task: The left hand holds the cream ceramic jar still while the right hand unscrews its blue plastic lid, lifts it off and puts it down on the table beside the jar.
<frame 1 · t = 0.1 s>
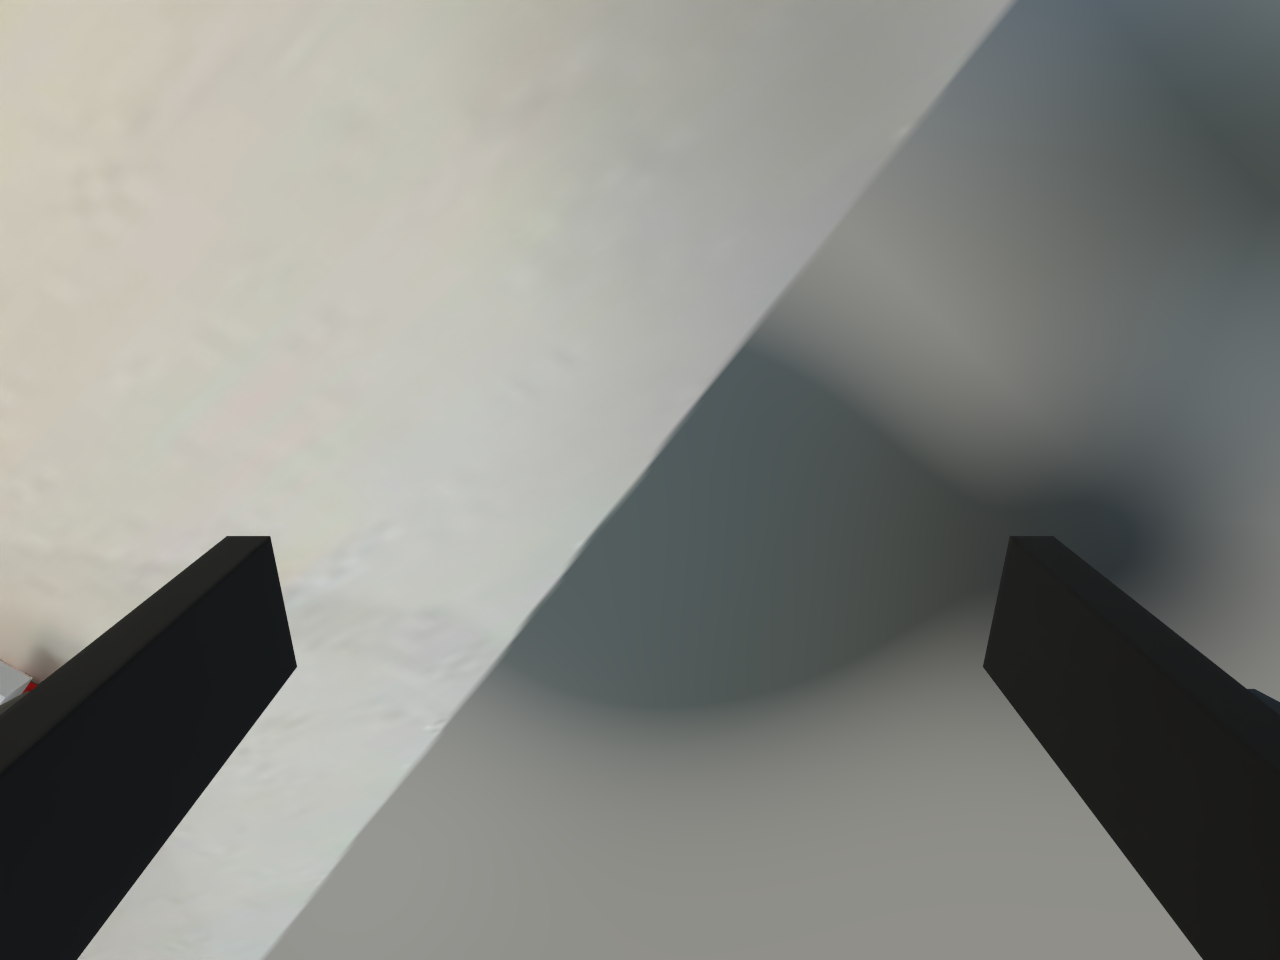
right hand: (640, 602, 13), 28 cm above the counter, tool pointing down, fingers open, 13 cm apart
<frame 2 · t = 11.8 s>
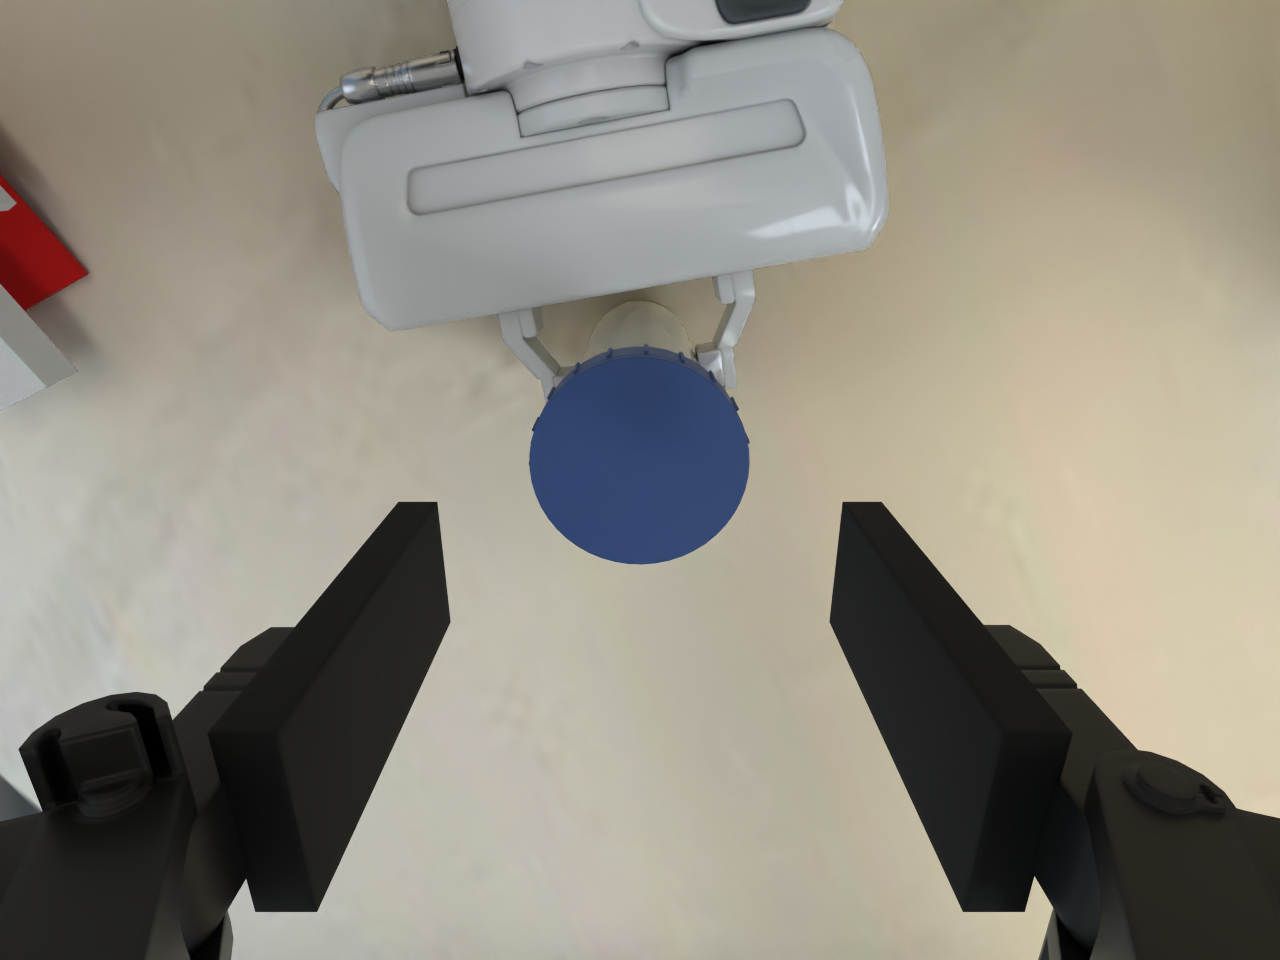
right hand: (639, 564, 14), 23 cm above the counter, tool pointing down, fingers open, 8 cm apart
left hand: (644, 400, 30), fingers closed on jar, 5 cm apart
jar: (639, 351, 36), on the counter, touching left hand
lid: (639, 462, 20), point 17 cm above the counter, screwed on, not yet turned
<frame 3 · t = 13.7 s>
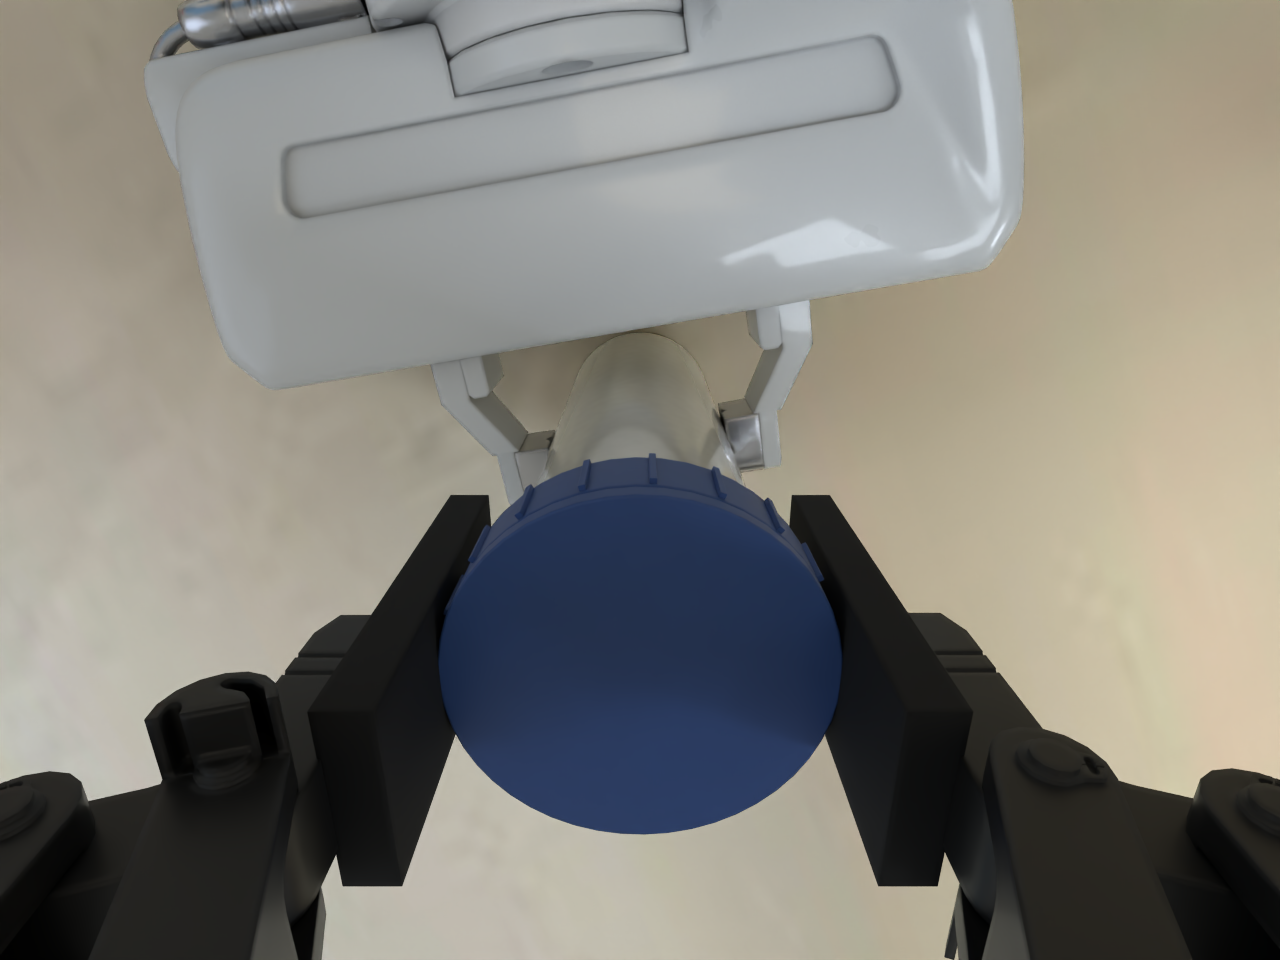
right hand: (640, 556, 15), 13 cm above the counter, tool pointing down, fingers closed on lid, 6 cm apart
left hand: (646, 481, 21), fingers closed on jar, 5 cm apart
jar: (640, 399, 27), on the counter, touching left hand
lid: (640, 668, 11), point 17 cm above the counter, screwed on, not yet turned, touching right hand
when the right hand's fingers open (13 cm above the counter, at t = 15.5 s): lid stays where it is, point 17 cm above the counter.
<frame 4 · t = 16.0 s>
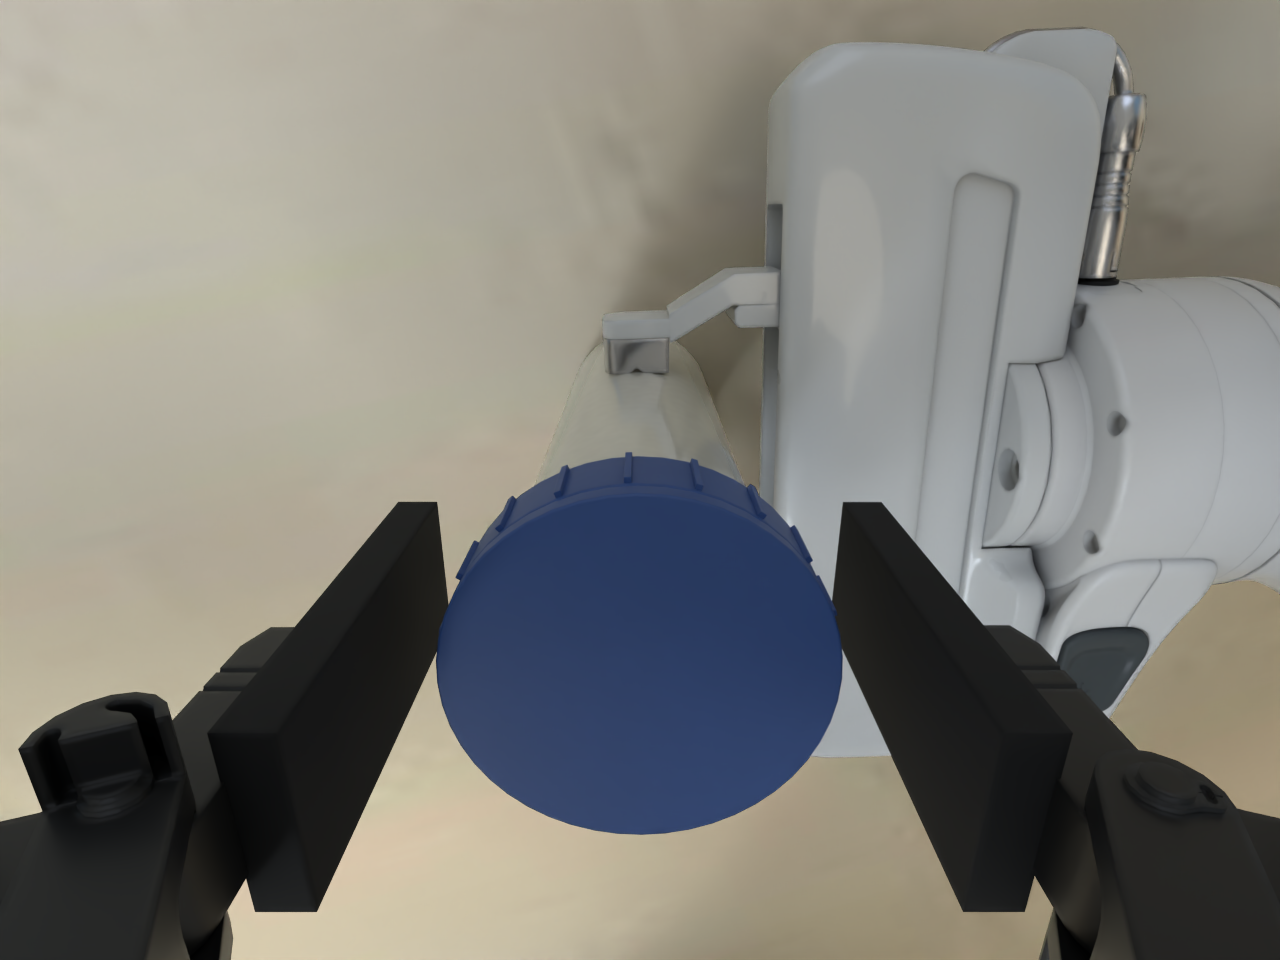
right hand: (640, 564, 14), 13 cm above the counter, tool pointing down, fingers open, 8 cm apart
left hand: (609, 453, 21), fingers closed on jar, 5 cm apart
jar: (639, 397, 27), on the counter, touching left hand
lid: (639, 668, 11), point 17 cm above the counter, turned 142° so far, risen 0.2 cm, still on its thread
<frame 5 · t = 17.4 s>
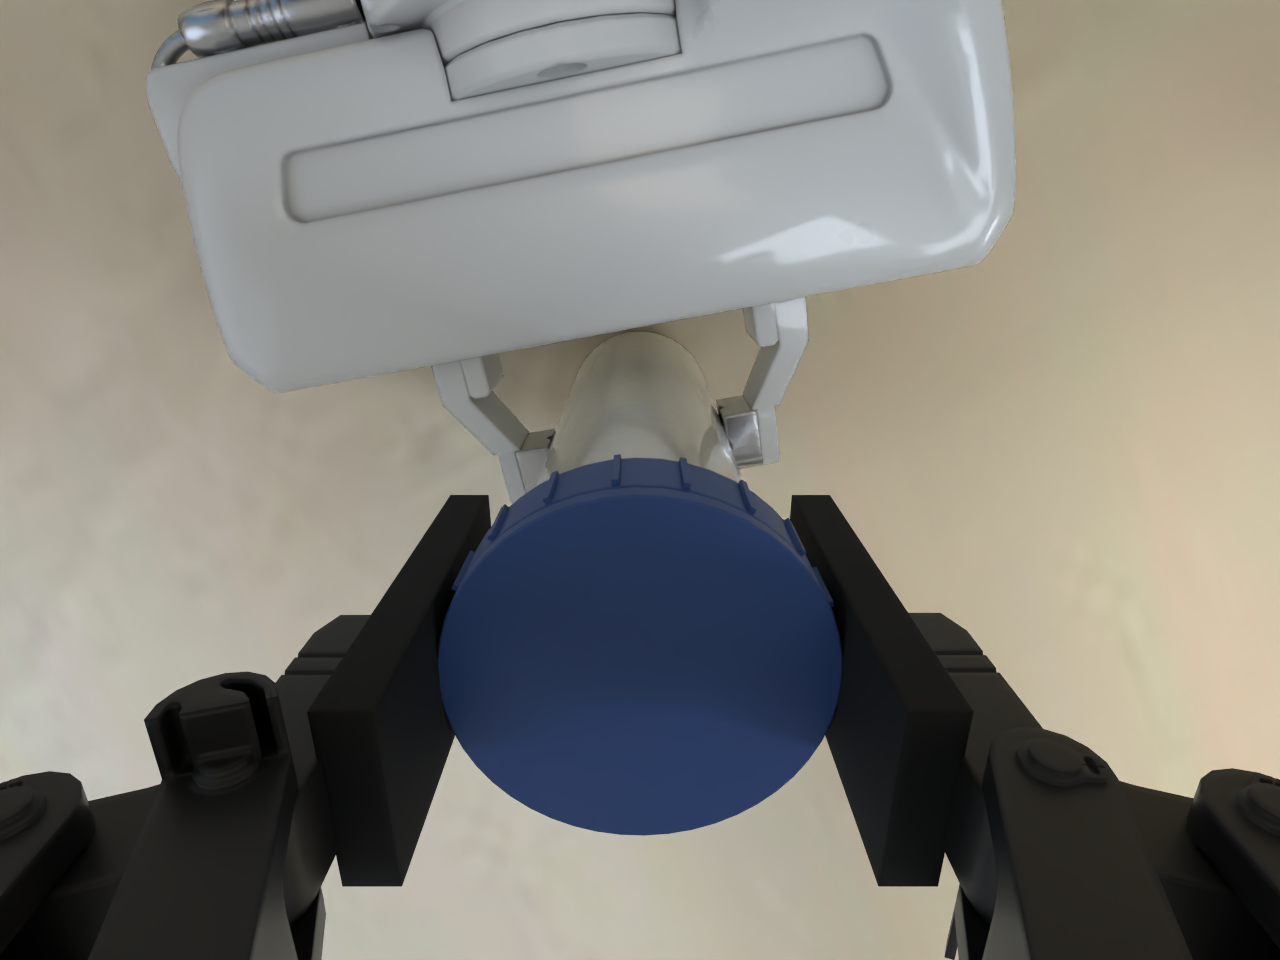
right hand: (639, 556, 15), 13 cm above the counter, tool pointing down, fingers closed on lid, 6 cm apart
left hand: (646, 478, 21), fingers closed on jar, 5 cm apart
jar: (640, 398, 27), on the counter, touching left hand
lid: (639, 669, 11), point 17 cm above the counter, turned 142° so far, risen 0.2 cm, still on its thread, touching right hand
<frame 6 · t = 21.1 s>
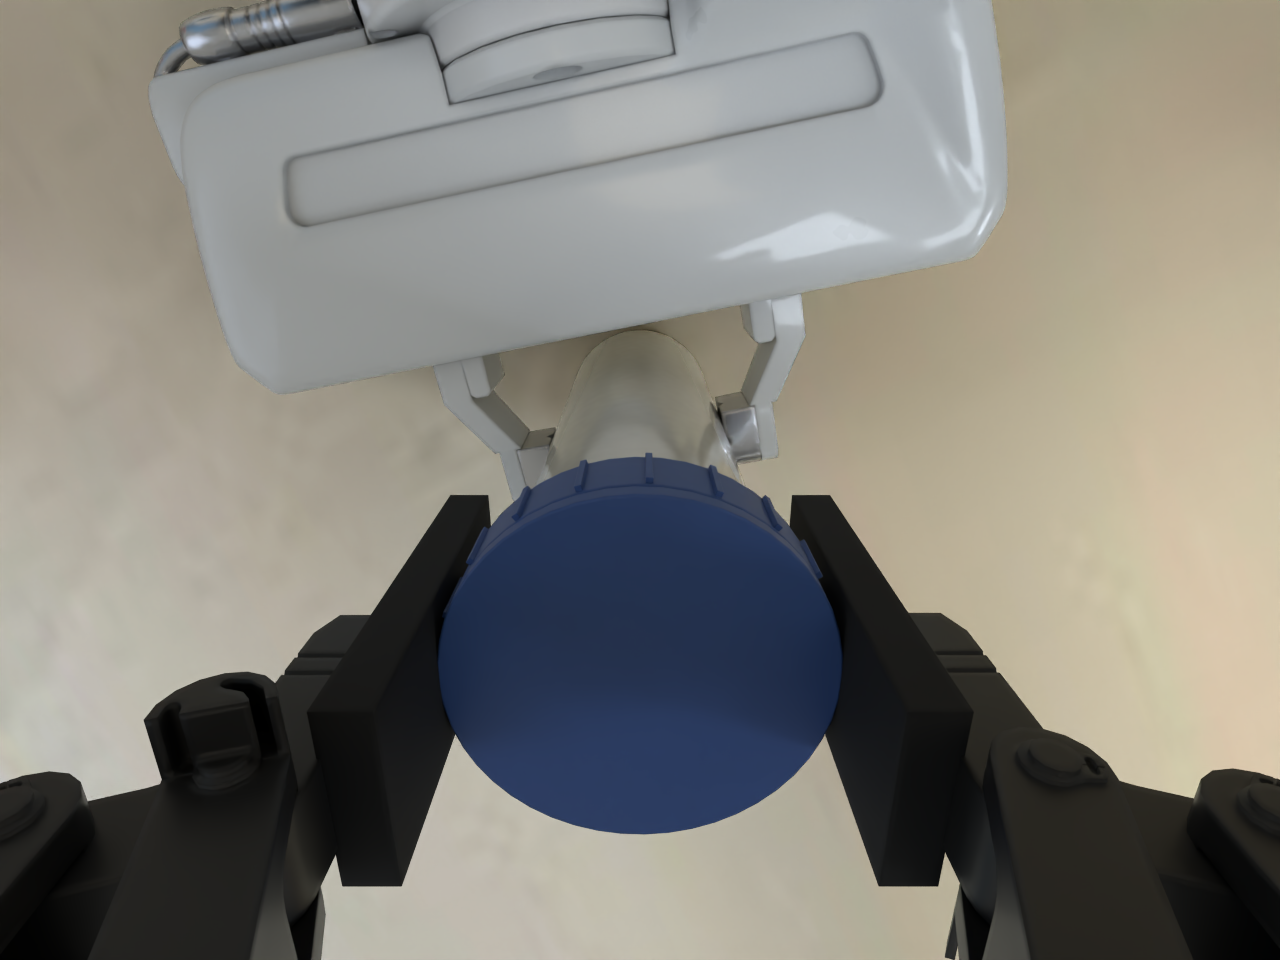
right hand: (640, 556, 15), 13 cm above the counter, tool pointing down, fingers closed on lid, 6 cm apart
left hand: (647, 475, 21), fingers closed on jar, 5 cm apart
jar: (640, 396, 27), on the counter, touching left hand
lid: (640, 668, 11), point 17 cm above the counter, turned 284° so far, risen 0.5 cm, still on its thread, touching right hand
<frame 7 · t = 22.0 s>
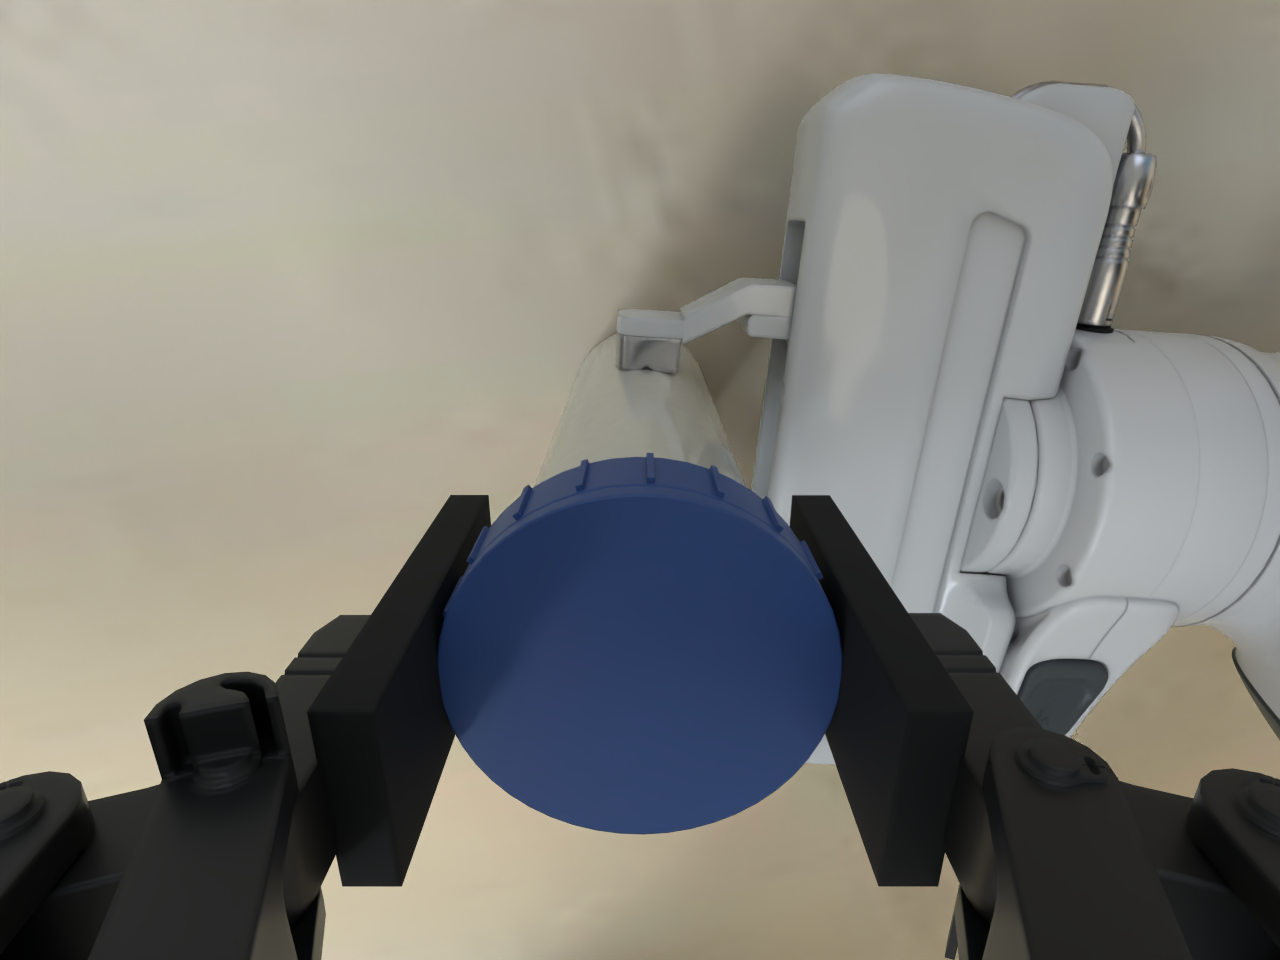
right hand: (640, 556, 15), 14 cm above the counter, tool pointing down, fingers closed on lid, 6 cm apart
left hand: (610, 446, 21), fingers closed on jar, 5 cm apart
jar: (640, 395, 27), on the counter, touching left hand
lid: (639, 668, 11), point 17 cm above the counter, turned 388° so far, risen 0.6 cm, still on its thread, touching right hand
when the right hand's fingers open (0 cm above the counter, at t = 28.2 s): lid stays where it is, point 1 cm above the counter.
when the left hand's fingers open (6 cm above the counter, at t = 29.2 s): jar stays where it is, on the counter.
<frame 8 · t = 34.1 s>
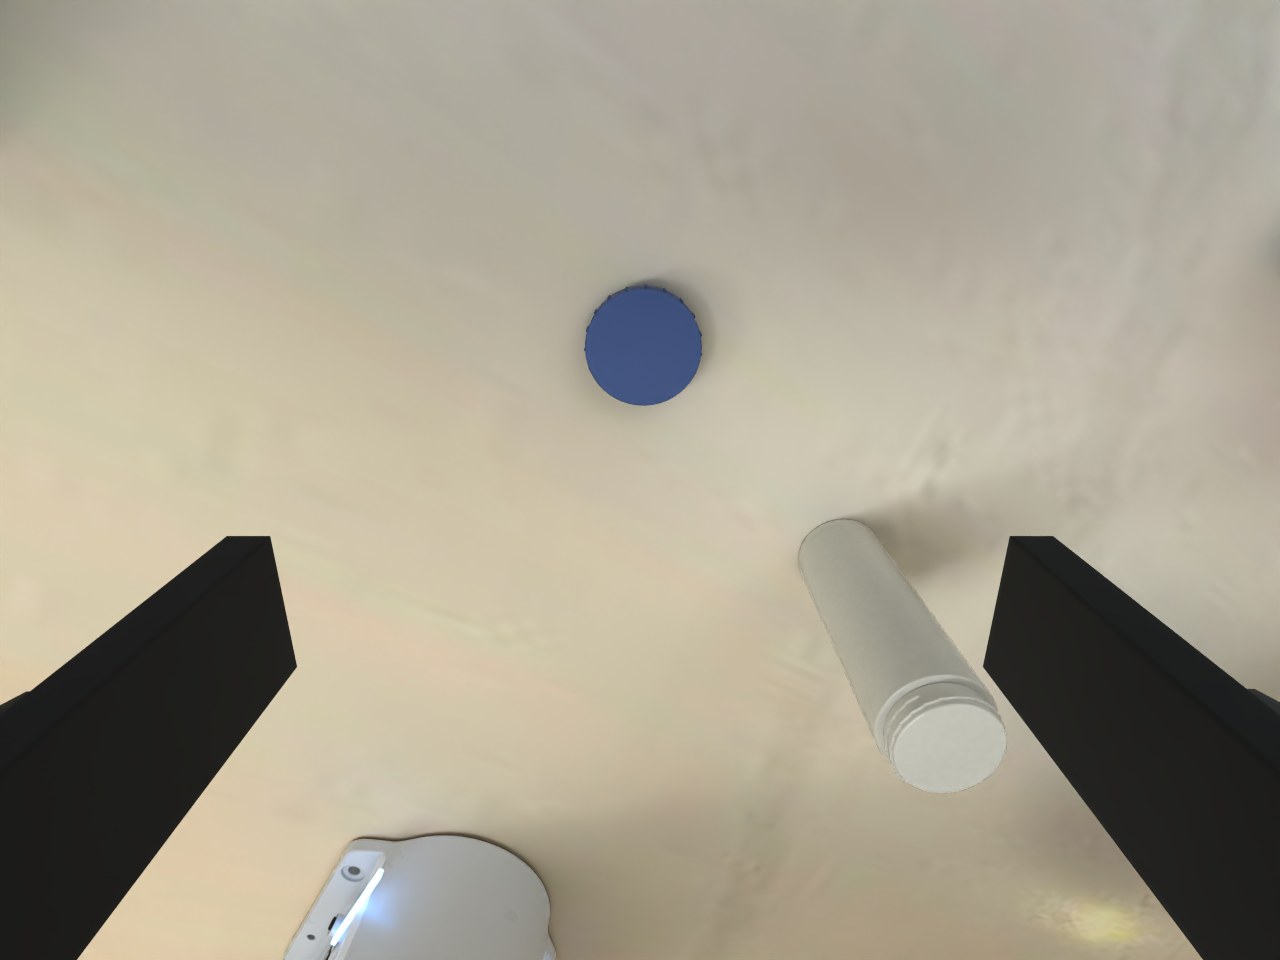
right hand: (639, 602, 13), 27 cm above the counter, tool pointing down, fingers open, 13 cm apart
jar: (839, 556, 43), on the counter
lid: (643, 347, 37), point 1 cm above the counter, off its thread
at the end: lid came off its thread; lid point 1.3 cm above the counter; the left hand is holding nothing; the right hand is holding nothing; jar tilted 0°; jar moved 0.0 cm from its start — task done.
